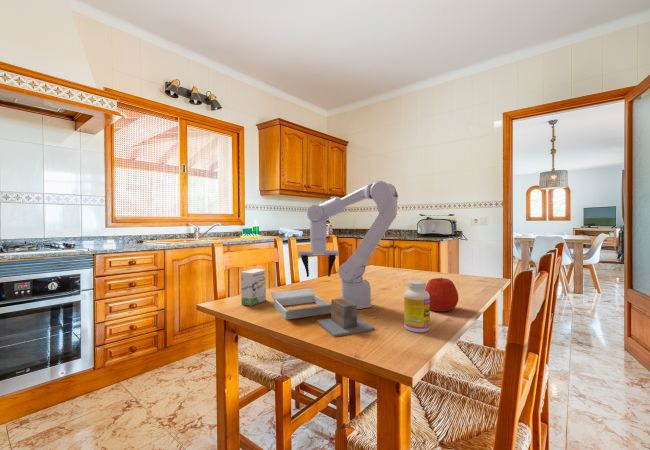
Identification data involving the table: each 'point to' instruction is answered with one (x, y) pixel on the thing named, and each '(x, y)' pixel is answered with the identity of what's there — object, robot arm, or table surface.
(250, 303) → the ink box
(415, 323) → the supplement bottle
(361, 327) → the mat
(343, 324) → the block
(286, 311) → the grey shallow open piece
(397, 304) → the table surface
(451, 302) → the apple
